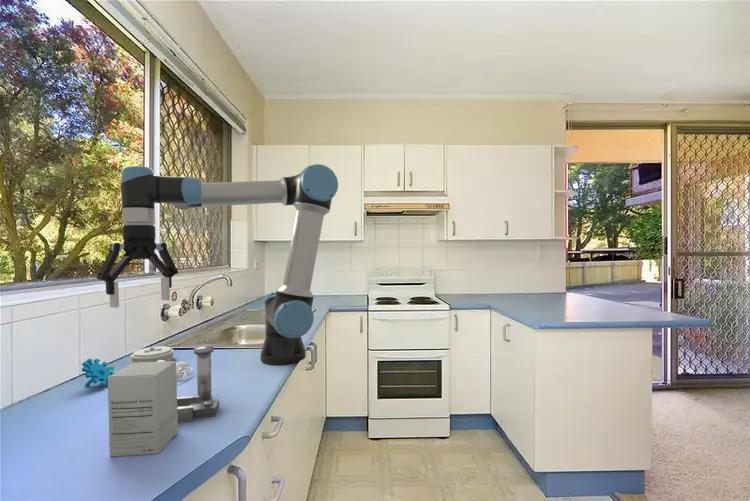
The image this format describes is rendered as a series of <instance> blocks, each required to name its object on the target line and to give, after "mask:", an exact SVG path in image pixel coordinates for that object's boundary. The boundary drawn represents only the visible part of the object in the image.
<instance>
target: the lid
mask: <svg viewBox="0 0 750 501" xmlns="http://www.w3.org/2000/svg"><path fill="white" fill-rule="evenodd" d="M174 351H175V350H174V349H173V348H171V347H170V346H165V345H164V346H163V345H162V346H161V345H160V346H149V347H144V348H141V349H137V350H135V351H134V352H133V353H131V354H130V358H131V362H130V364H132V363H136V362H157V361H159V360H164V361H174V358H175V357H174Z"/></svg>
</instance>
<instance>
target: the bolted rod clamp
mask: <svg viewBox="0 0 750 501" xmlns="http://www.w3.org/2000/svg"><path fill="white" fill-rule="evenodd" d="M219 410H220V399H211V400H207V401H200V395H198V394H197V395H188V396H187V395H186V396H179V397H178V396H177V415H178V424H179V423H188V422H193V421H194V420H195V419H205V418H206V419H207V418H216V416H217V414H218V411H219Z"/></svg>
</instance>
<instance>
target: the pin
mask: <svg viewBox="0 0 750 501" xmlns="http://www.w3.org/2000/svg"><path fill="white" fill-rule="evenodd" d="M214 347H215V346H214V345H213V344H201V345H197V346H195V347H193V354H194V355H196V375H197V377H196V378H197V379H196V380H197V381H196V383H197V386H196V387H197V395H200V401H207V400H213V399H212V397H213V396H212V357H211V356H212V353H214V349H215V348H214Z"/></svg>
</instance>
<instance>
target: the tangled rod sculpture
mask: <svg viewBox="0 0 750 501" xmlns="http://www.w3.org/2000/svg"><path fill="white" fill-rule="evenodd" d="M157 362H165V361H164V360H159V361H157ZM186 369H190V371H189V372H187V371H184V370H186ZM193 372H194V370H193V367H190V363H189V362H185V361H179V362H176V382H180V381H182V380H184V378H185V377H186V376H188V375H190V374H192V373H193ZM179 376H181V378H179Z"/></svg>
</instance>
